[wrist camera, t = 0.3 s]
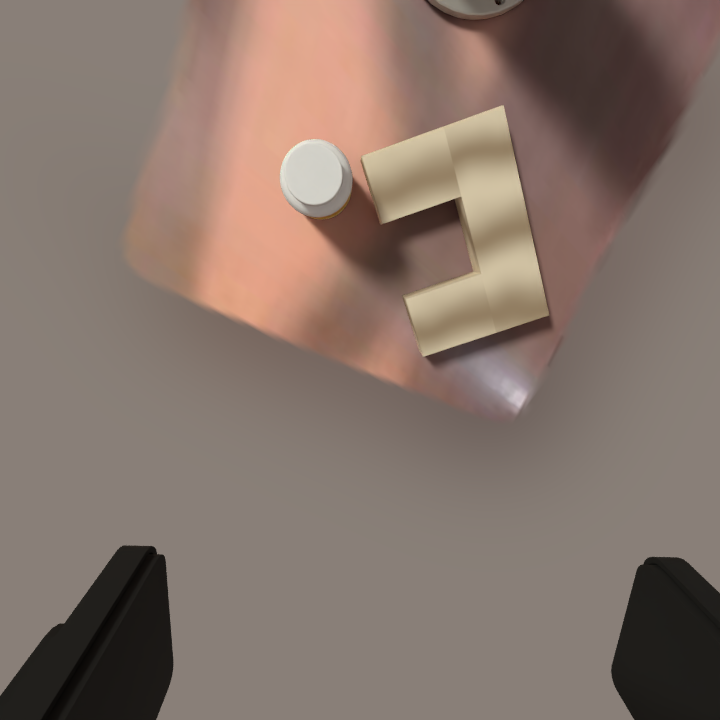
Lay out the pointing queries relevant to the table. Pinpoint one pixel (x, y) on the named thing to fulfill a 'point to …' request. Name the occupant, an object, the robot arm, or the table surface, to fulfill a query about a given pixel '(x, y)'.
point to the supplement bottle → (316, 179)
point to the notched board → (464, 227)
